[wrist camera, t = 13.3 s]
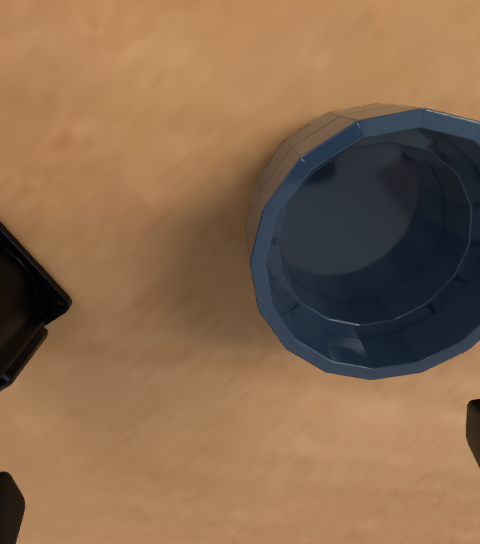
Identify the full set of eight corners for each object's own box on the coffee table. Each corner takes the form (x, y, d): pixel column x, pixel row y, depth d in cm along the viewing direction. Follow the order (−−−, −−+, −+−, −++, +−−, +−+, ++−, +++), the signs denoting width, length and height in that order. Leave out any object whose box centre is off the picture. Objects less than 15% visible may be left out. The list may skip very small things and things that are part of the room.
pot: (204, 189, 19) (195, 223, 14) (413, 52, 17) (486, 38, 12) (311, 346, 23) (333, 415, 18) (494, 251, 20) (573, 300, 16)
